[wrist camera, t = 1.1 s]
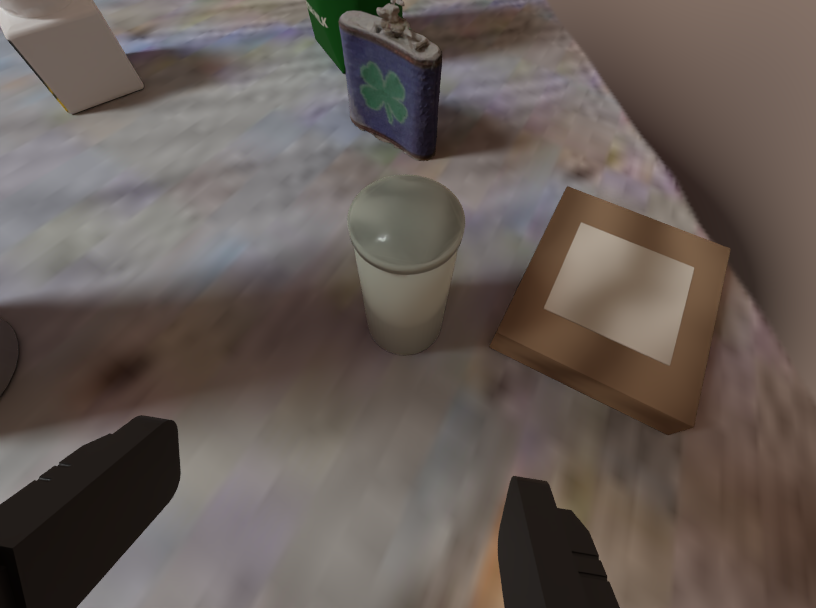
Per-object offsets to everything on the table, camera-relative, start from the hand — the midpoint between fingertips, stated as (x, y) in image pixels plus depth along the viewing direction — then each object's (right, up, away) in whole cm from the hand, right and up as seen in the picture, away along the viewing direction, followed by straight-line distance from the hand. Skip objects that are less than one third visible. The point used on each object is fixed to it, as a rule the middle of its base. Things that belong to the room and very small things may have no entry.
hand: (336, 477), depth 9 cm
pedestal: (+16, +4, +19) cm, 25 cm away
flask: (0, +20, +28) cm, 34 cm away
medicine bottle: (-29, +26, +30) cm, 49 cm away
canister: (+1, +3, +19) cm, 19 cm away
